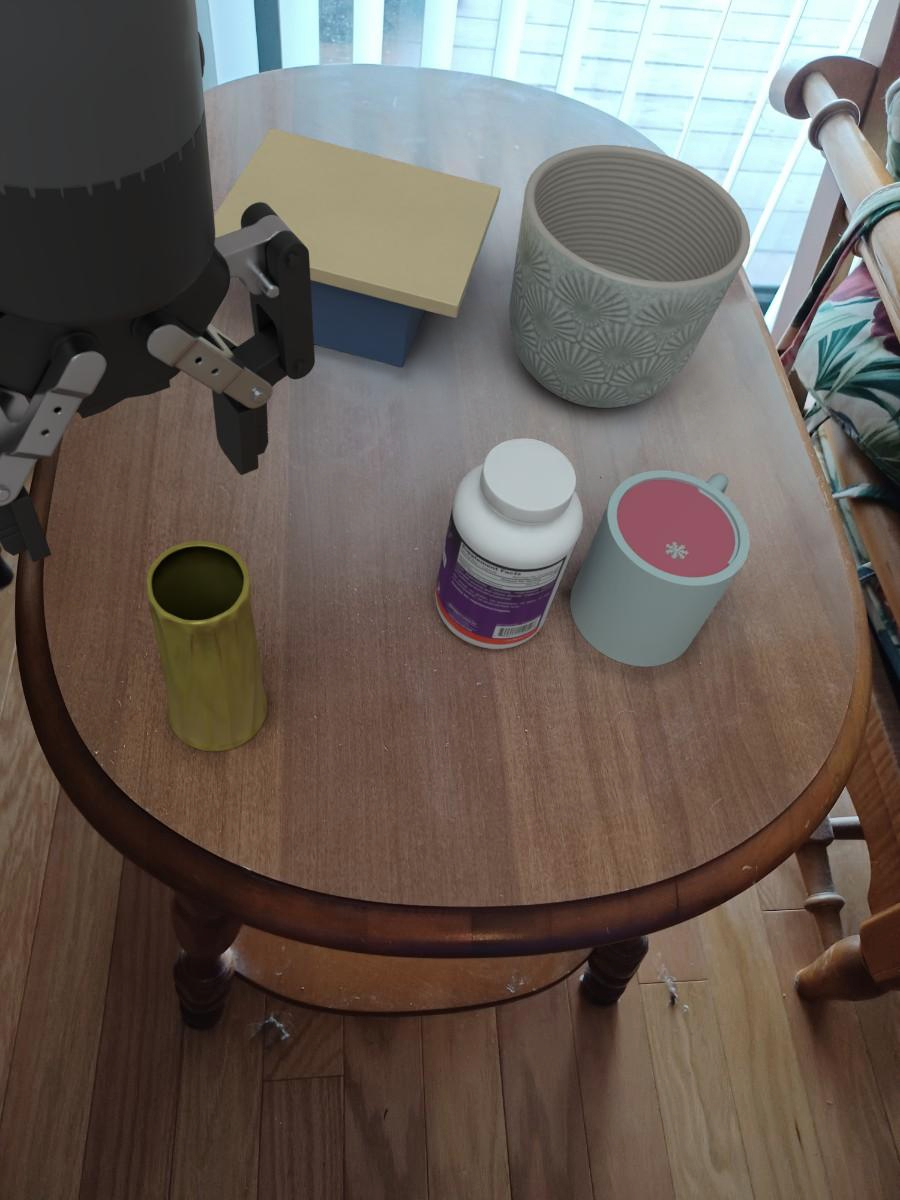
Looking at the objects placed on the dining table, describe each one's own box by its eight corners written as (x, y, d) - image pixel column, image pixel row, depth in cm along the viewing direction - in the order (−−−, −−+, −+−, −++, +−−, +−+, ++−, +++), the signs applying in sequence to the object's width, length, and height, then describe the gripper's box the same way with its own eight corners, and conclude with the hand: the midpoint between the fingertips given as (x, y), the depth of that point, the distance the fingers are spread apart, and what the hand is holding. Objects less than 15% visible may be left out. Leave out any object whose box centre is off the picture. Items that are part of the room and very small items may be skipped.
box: (208, 333, 78) (199, 237, 71) (273, 223, 87) (271, 127, 80) (442, 396, 78) (458, 306, 70) (483, 278, 87) (501, 187, 79)
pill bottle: (472, 542, 70) (507, 400, 58) (565, 598, 68) (621, 464, 56) (410, 615, 66) (434, 478, 54) (508, 677, 64) (555, 550, 52)
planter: (678, 459, 77) (752, 309, 65) (475, 413, 77) (510, 254, 65) (686, 325, 87) (751, 172, 74) (505, 284, 87) (540, 123, 74)
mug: (656, 690, 65) (708, 612, 57) (545, 614, 67) (580, 527, 59) (744, 570, 72) (802, 484, 64) (641, 504, 74) (684, 413, 66)
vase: (194, 770, 58) (167, 651, 46) (151, 692, 60) (115, 560, 48) (284, 724, 60) (280, 600, 48) (239, 651, 62) (226, 516, 51)
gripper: (232, -29, 28) (254, 378, 41) (-316, 65, 22) (-85, 504, 36) (370, 102, 25) (346, 495, 39) (-219, 250, 19) (-6, 652, 33)
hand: (139, 499), depth 37 cm, fingers open, 8 cm apart
